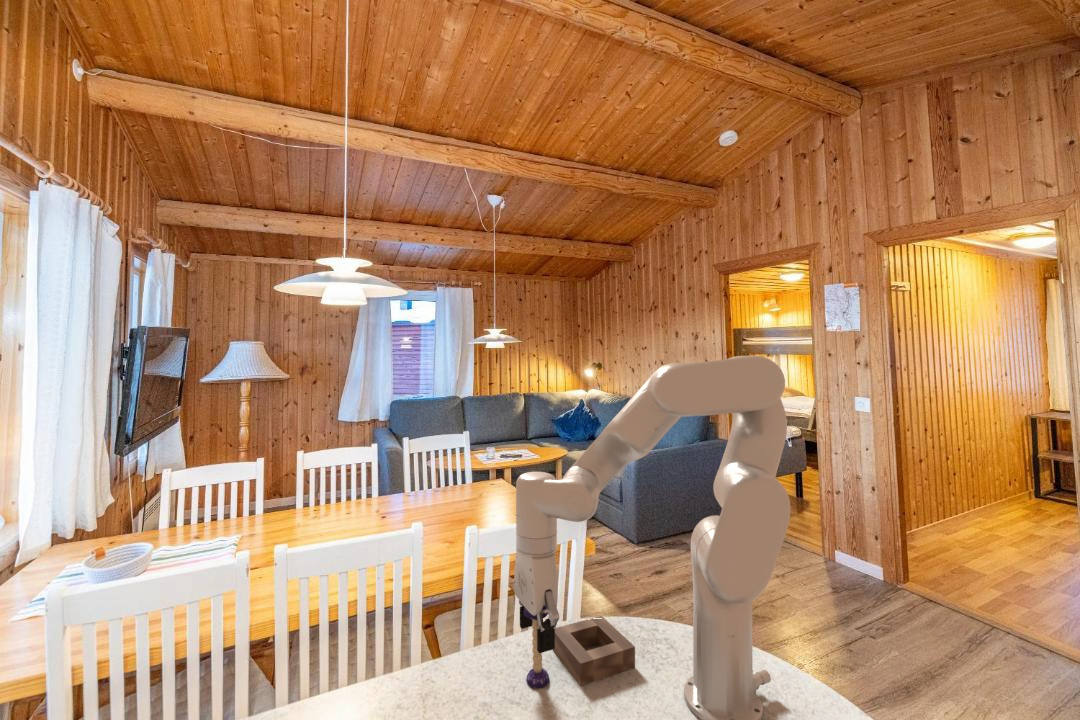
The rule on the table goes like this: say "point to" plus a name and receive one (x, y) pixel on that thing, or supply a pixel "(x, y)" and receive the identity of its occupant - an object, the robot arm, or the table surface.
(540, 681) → the toy lamp
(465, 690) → the table surface
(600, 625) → the socket block
